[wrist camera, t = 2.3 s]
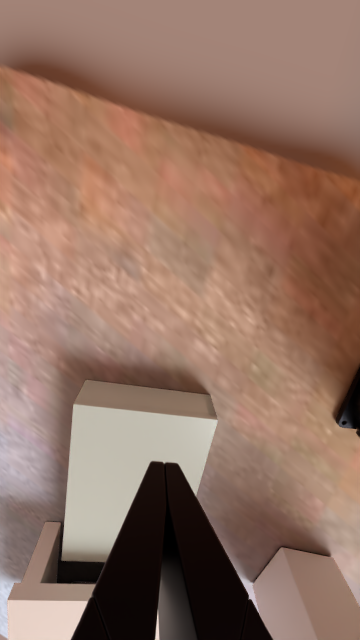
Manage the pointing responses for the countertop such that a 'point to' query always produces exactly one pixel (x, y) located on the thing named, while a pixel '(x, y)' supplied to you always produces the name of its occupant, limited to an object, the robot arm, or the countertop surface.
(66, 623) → the overhang
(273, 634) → the milk carton
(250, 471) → the countertop surface
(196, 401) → the cream rectangular slab
